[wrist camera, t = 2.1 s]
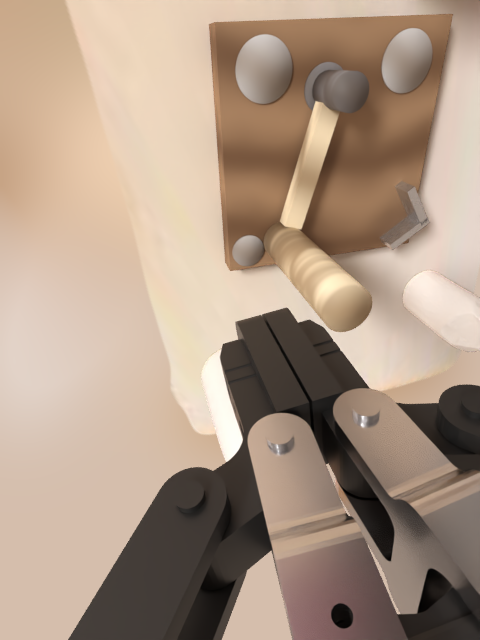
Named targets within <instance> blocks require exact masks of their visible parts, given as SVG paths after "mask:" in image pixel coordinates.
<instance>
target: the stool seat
mask: <svg viewBox="0 0 480 640" xmlns="http://www.w3.org/2000/svg"><path fill="white" fill-rule="evenodd" d="M452 16H453V14H438V15H410V16H381V17H353V18H324V19H296V20H267V21H239V22H214V23H212V24H209V29H210V44H211V59H212V73H213V88H214V103H215V117H216V132H217V147H218V161H219V176H220V191H221V205H222V220H223V235H224V249H225V263H226V264H227V266H228V268H229V270H230V271H233V270H240V269H246V268H252V267H259V266H265V265H271V264H276V263H275V261H274V260H273V259H272V258H271V257H270V255H269V254H268V253H267V252H266V250H265V248H264V236H265V234H266V232H267V230H268V229H269V228H270V227H271V226H272V225H274V224H276V223H278V222H280V219H281V216H282V212H283V209H284V205H285V202H286V199H287V195H288V192H289V189H290V185H291V182H292V179H293V175H294V172H295V169H296V165H297V162H298V158H299V155H300V152H301V148H302V145H303V142H304V138H305V135H306V132H307V128H308V125H309V122H310V118H311V115H312V111H313V108H314V105H315V101H314V99H313V95H312V88H313V84H314V81H315V79H316V78H317V76H318V75H319V74H320V73H322V72H323V71H325V70H347V71H359V72H361V73H363V74H364V75H365V76H366V78H367V79H368V82H369V95H368V98H367V100H366V102H365V104H364V105H363V106H362V107H361V108H360V109H359V110H358V111H356V112H354V113H345V112H340V113H339V116H338V119H337V122H336V125H335V128H334V131H333V135H332V138H331V141H330V144H329V147H328V150H327V153H326V156H325V159H324V162H323V165H322V168H321V171H320V174H319V177H318V180H317V184H316V187H315V190H314V193H313V196H312V199H311V202H310V205H309V208H308V211H307V214H306V217H305V220H304V223H303V226H302V229H299V230H300V231H302V232H303V233H304V234H305V235H306V236H307V237H308V238H309V239H310V240H312V241H313V242H314V243H315V244H316V245H317V246H318V247H319V248H320V249H322V250H323V251H324V252H325V253H326V254H327V255H335V254H341V253H347V252H354V251H360V250H367V249H373V248H379V247H386V245H385V244H383V243H382V242H381V240H380V238H379V237H381V236H382V235H383V234H385V233H386V232H387V231H389V230H390V229H391V228H393V227H394V226H395V225H397V224H398V223H399V222H401V221H402V220H403V219H405V218H406V217H407V213H406V211H405V209H404V207H403V204H402V202H401V200H400V198H399V195H398V193H397V191H396V188H395V186H396V185H398V184H399V183H400V182H401V181H403V182H405V183H408V184H410V185H412V186H415V188H416V191H417V193H418V191H419V185H420V180H421V175H422V170H423V165H424V160H425V155H426V150H427V144H428V139H429V134H430V129H431V124H432V119H433V114H434V109H435V103H436V98H437V93H438V88H439V83H440V78H441V73H442V68H443V62H444V57H445V52H446V47H447V42H448V37H449V32H450V27H451V21H452ZM408 242H409V238H408V239H407V240H406V241H404V242H403V243H402V244H405V243H408Z"/></svg>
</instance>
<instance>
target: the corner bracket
mask: <svg viewBox="0 0 480 640" xmlns="http://www.w3.org/2000/svg"><path fill="white" fill-rule="evenodd" d="M395 188H396V191H397V193H398V195H399V198H400V200H401V202H402V204H403V207H404V209H405V211H406V213H407V217H406V218H405V219H403V220H402V221H401V222H399V223H398V224H397V225H395V226H394V227H393V228H391V229H390V230H389V231H387V232H386V233H385V234H383V235H382V236H381V237H379V238H380V240H381V242H382V243H383V244H385V245H386V246H388V247H389V248H391V249H392V250H394V249H395V248H396V247H398V246H399V245H400V244H402V243H403V242H404V241H406V240H407V239H408V238H410V237H411V236H412V235H414V234H415V233H416V232H418V231H419V230H420V229H422V228H423V227H424V226H426V225H427V224H428V223H430V222H429V220H428V217H427V215H426V213H425V210H424V208H423V206H422V203H421V201H420V198H419V196H418V193H417V191H416V188H415V186H412V185H410V184H408V183H405V182H403V181H401V182H400V183H399V184H398V185H396V186H395Z"/></svg>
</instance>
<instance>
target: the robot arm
mask: <svg viewBox="0 0 480 640" xmlns="http://www.w3.org/2000/svg"><path fill="white" fill-rule="evenodd" d="M236 330H237V335H238V340H235V341H232V342H228V343H225V344H223V346H222V350H221V354H220V361H221V365H222V370H223V374H224V378H225V382H226V386H227V391H228V395H229V398H230V401H231V404H232V407H233V410H234V414H235V417H236V420H237V423H238V426H239V429H240V432H241V435H242V438H243V441H242V444H241V446H240V448H239V450H238V451H237V453H236V454H235V455H234V456H233V457H232V458H231V459H230V460H229V461H227V462H226V463H225V464H223V465H222V466H220V467H219V468H217V469H216V470H214V471H212V470H209V469H207V468H201V467H195V468H188V469H185V470H182V471H180V472H178V473H176V474H175V475H173V476H172V477H171V478H169V479H168V480H167V481H166V482H165V483H164V485H163V486H162V488H161V489H160V491H159V492H158V494H157V496H156V497H155V499H154V501H153V502H152V504H151V505H150V507H149V509H148V510H147V512H146V514H145V515H144V517H143V518H142V520H141V522H140V524H139V525H138V527H137V528H136V530H135V532H134V533H133V535H132V537H131V538H130V540H129V541H128V543H127V545H126V547H125V548H124V549H123V551H122V553H121V555H120V556H119V558H118V559H117V561H116V563H115V564H114V566H113V568H112V569H111V571H110V572H109V574H108V576H107V577H106V579H105V581H104V582H103V584H102V586H101V587H100V589H99V590H98V592H97V594H96V595H95V597H94V598H93V600H92V602H91V604H90V605H89V607H88V609H87V610H86V612H85V613H84V615H83V616H82V618H81V620H80V621H79V623H78V625H77V626H76V628H75V630H74V631H73V633H72V634H71V636H70V638H69V639H68V640H222V637H223V634H224V632H225V629H226V626H227V624H228V621H229V618H230V616H231V613H232V610H233V608H234V605H235V603H236V600H237V597H238V595H239V592H240V589H241V587H242V584H243V581H244V579H245V576H246V572H247V570H248V569H249V568H250V567H251V566H253V565H254V564H255V563H256V562H258V561H259V560H260V559H261V558H263V557H264V556H265V555H266V554H267V553H269V552H270V551H271V550H272V554H273V558H274V563H275V567H276V571H277V575H278V579H279V584H280V588H281V592H282V597H283V601H284V605H285V609H286V614H287V619H288V623H289V627H290V631H291V636H292V640H480V386H476V385H457V386H453V387H451V388H449V389H447V390H445V391H444V392H443V393H442V395H441V396H440V399H439V403H432V404H401V403H395V402H394V401H393V400H392V399H391V398H390V397H389V396H387V395H386V394H384V393H382V392H380V391H377V390H373V389H370V388H369V387H368V386H367V384H366V383H365V382H364V380H363V379H362V378H361V376H360V375H359V374H358V372H357V371H356V370H355V368H354V367H353V366H352V364H351V363H350V362H349V360H348V359H347V358H346V356H345V355H344V354H343V352H342V351H340V348H339V347H338V346H337V344H336V343H335V342H333V339H332V338H331V336H330V335H329V334H328V332H327V331H326V330H325V328H323V327H322V326H320V325H318V324H316V323H315V322H313V321H311V320H307V321H303V322H299V323H298V322H297V321H296V319H295V318H294V316H293V315H292V313H291V312H290V310H289V309H288V308H284V309H280V310H277V311H273V312H269V313H266V314H262V316H261V315H259V316H255V317H252V318H248V319H244V320H241V321H237V322H236ZM328 463H329V465H330V467H331V469H332V471H333V473H334V475H335V486H334V483H333V481H332V478H331V476H330V474H329V471H328V469H327V466H326V464H328ZM335 487H336V488H335ZM339 497H340V498H341V500H342V502H343V503H344V505H345V507H346V508H347V510H348V512H349V513H350V515H351V516H348V515H347V513H346V511H345V509H344V508H343V505H342V503H341V500H340V498H339ZM365 540H366V541H365ZM366 542H367V543H366ZM367 544H368V545H369V547H370V549H371V550H372V552H373V554H374V555H375V557H376V559H377V560H378V562H379V564H380V566H381V568H382V570H383V572H384V574H385V577H386V579H387V583H388V587H389V590H390V592H391V595H392V598H393V600H394V602H395V604H396V606H397V608H398V610H399V612H400V614H399V615H398V614H397V613H396V611H395V609H394V606H393V604H392V601H391V599H390V597H389V594H388V592H387V590H386V587H385V585H384V583H383V580H382V578H381V576H380V573H379V571H378V569H377V566H376V564H375V562H374V559H373V557H372V555H371V552H370V550H369V548H368V545H367Z"/></svg>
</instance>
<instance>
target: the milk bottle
mask: <svg viewBox="0 0 480 640" xmlns="http://www.w3.org/2000/svg"><path fill="white" fill-rule="evenodd" d="M221 350H222V349H219V350H218V351H216V352H215V353H213V354H212V355H211V356H210V357H209V358H208V360H207V361H206V363H205V365H204V367H203V370H202V374H201V380H202V385H203V389H204V392H205V396H206V399H207V403H208V407H209V410H210V414H211V417H212V421H213V424H214V427H215V431H216V434H217V437H218V441H219V444H220V447H221V450H222V453H223V456H224V459H225V461H226V462H227V461H229V460H230V459H231V458H232V457H233V456H234V455H235V454H236V453H237V451H238V450H239V448H240V446H241V444H242V441H243V438H242V435H241V432H240V429H239V426H238V423H237V420H236V417H235V414H234V410H233V407H232V404H231V401H230V398H229V395H228V391H227V386H226V382H225V378H224V374H223V370H222V365H221V361H220V354H221Z"/></svg>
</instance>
